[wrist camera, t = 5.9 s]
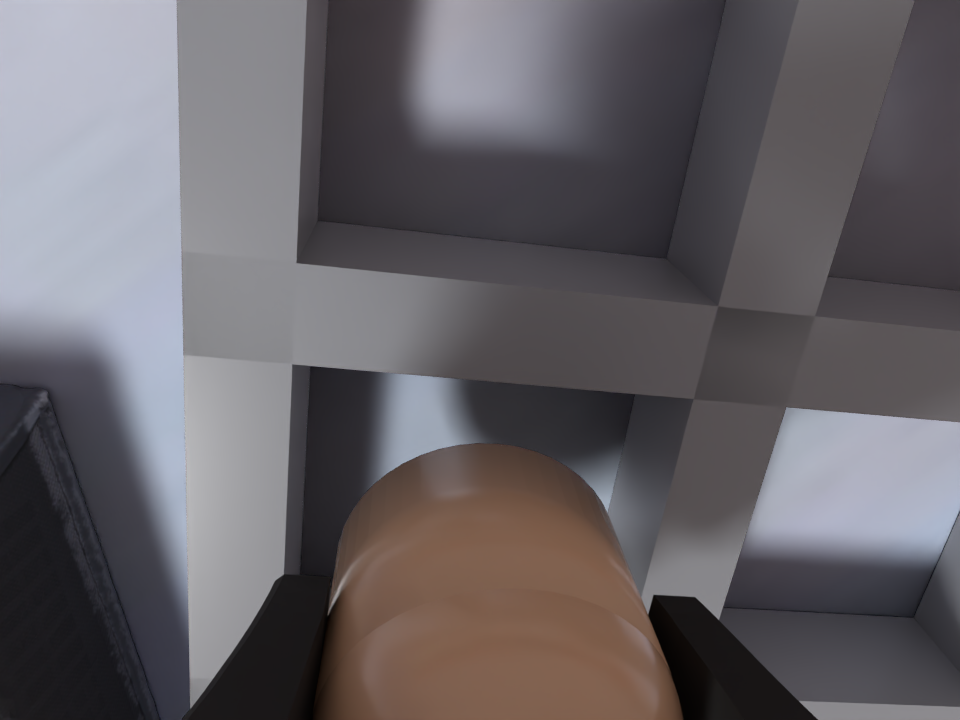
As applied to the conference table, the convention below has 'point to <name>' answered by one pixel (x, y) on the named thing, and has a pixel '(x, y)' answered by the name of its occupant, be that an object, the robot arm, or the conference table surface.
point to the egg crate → (566, 328)
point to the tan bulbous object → (487, 600)
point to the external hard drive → (56, 584)
